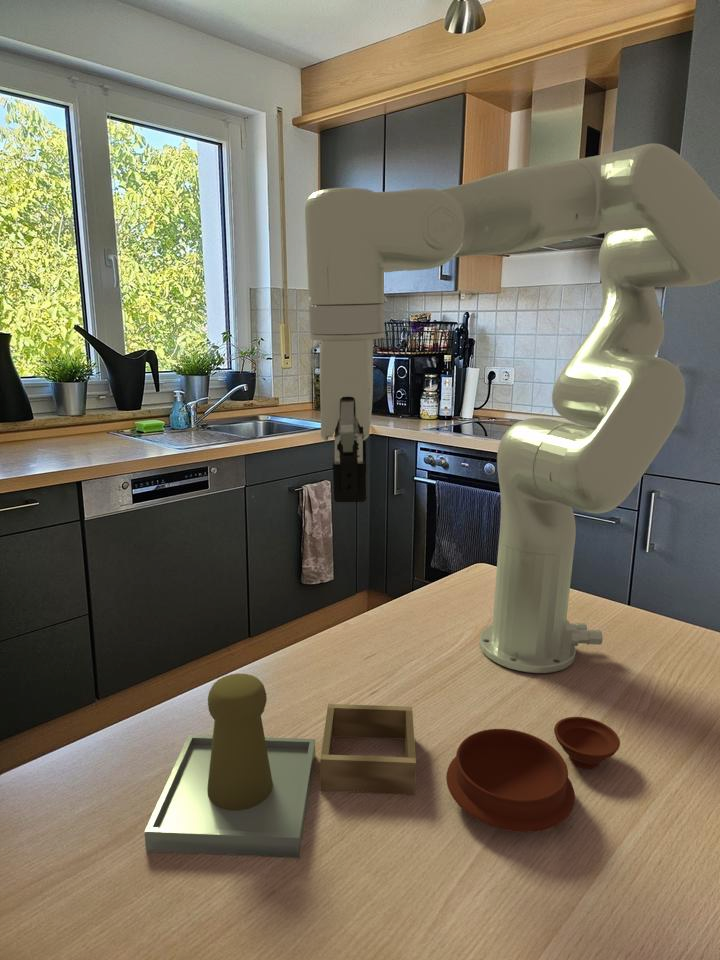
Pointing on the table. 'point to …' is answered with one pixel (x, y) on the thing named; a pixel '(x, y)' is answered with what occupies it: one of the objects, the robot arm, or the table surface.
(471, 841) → the table surface
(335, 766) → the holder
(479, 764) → the pottery
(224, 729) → the olive pawn
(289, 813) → the tray
